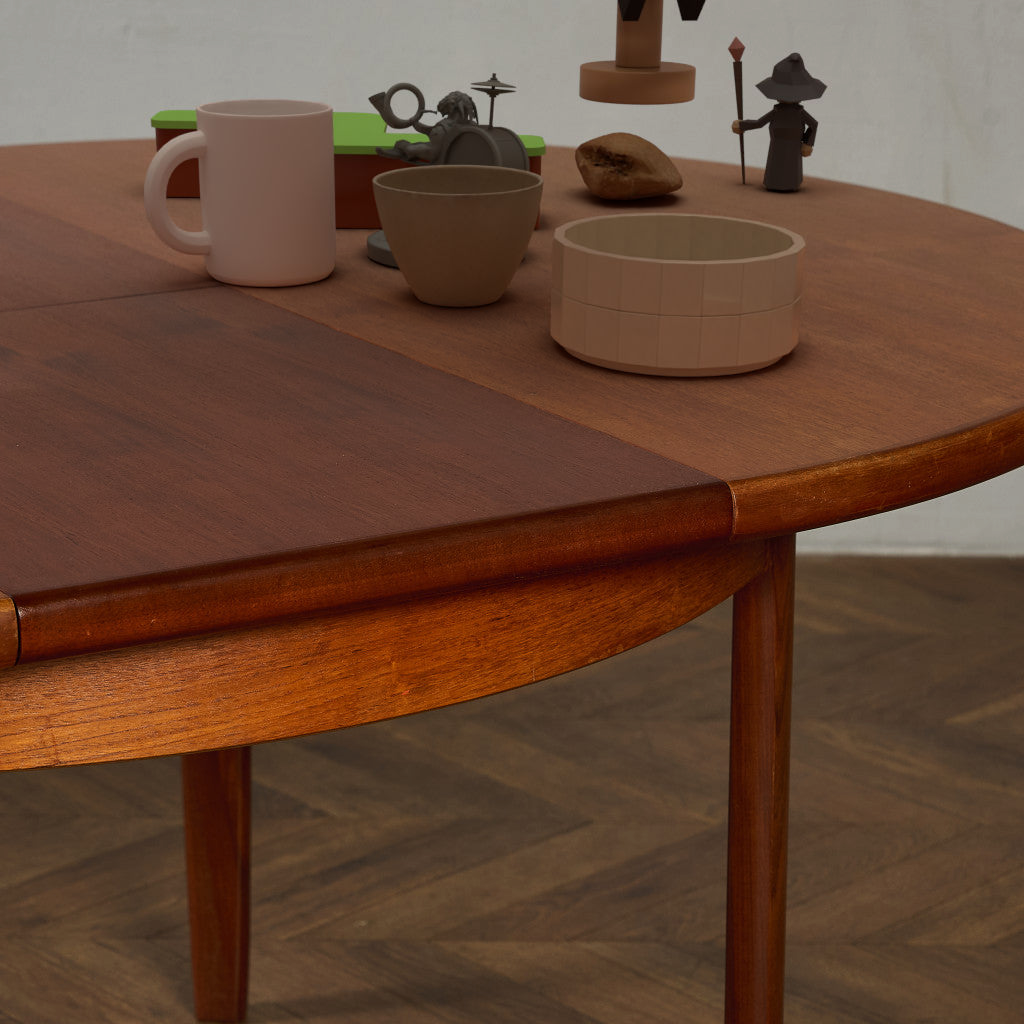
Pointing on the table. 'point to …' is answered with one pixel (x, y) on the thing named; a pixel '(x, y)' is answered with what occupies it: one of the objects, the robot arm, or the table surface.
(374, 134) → the planter
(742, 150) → the wizard figurine
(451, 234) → the flower pot
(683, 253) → the bowl
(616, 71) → the masher
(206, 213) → the mug
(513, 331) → the table surface
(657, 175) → the brown rounded lump
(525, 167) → the figurine
